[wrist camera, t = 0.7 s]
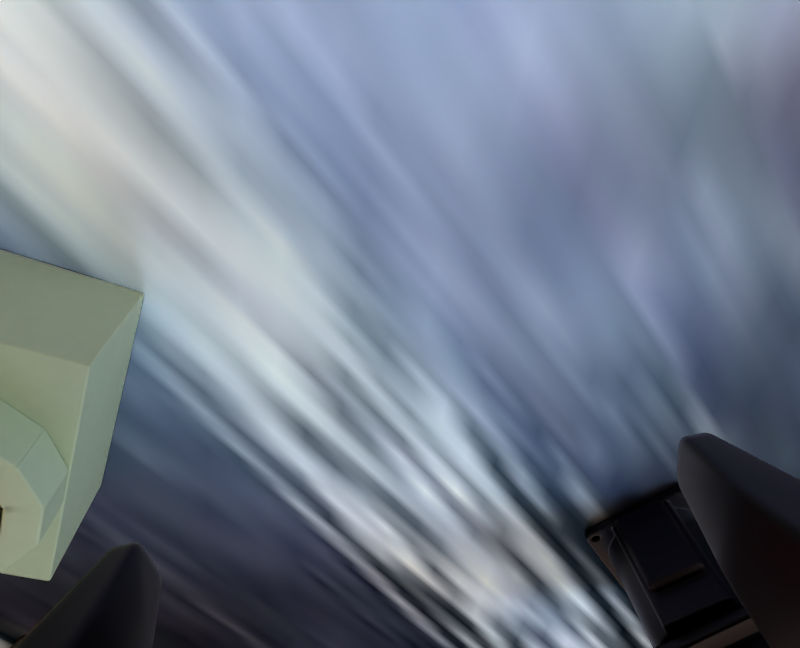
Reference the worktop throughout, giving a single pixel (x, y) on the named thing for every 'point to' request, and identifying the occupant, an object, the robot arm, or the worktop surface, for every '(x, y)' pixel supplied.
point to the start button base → (56, 403)
